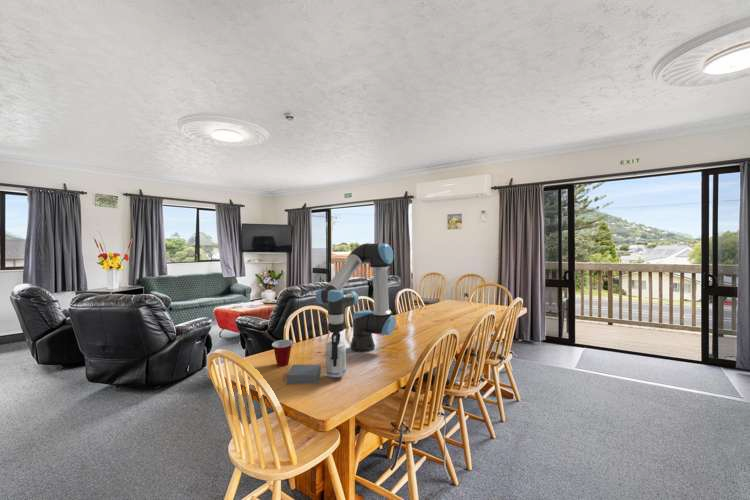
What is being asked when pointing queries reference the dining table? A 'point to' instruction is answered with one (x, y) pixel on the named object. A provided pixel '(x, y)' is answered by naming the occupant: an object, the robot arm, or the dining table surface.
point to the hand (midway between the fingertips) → (336, 368)
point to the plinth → (303, 374)
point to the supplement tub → (341, 359)
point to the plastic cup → (282, 351)
